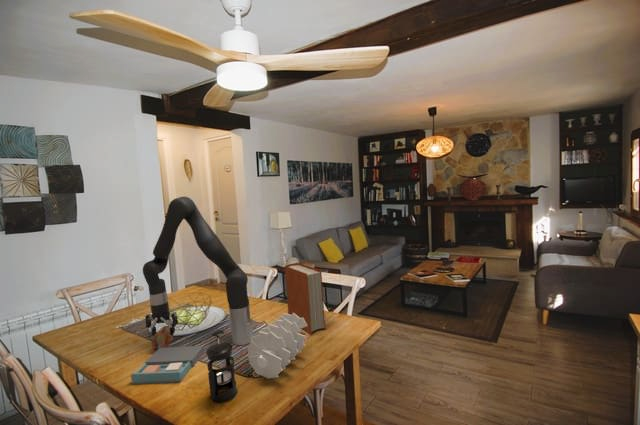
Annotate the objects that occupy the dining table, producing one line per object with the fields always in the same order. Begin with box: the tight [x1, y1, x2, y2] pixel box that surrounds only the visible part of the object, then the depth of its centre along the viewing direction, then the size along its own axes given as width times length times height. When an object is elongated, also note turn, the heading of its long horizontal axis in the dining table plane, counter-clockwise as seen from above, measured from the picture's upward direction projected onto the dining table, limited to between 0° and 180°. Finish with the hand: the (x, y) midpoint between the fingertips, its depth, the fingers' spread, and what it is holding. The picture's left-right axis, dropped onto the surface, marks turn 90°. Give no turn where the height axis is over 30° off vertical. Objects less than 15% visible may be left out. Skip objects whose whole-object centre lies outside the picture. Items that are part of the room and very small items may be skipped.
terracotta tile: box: [141, 365, 161, 373], centre depth 133 cm, size 5×5×2 cm
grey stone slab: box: [144, 345, 205, 368], centre depth 144 cm, size 20×12×3 cm, turn 88°
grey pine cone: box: [246, 312, 308, 380], centre depth 134 cm, size 18×18×25 cm
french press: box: [205, 330, 238, 404], centre depth 117 cm, size 12×9×23 cm
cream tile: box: [165, 362, 183, 372], centre depth 133 cm, size 5×5×2 cm
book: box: [284, 262, 326, 336], centre depth 169 cm, size 23×8×30 cm, turn 34°
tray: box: [130, 362, 193, 385], centre depth 133 cm, size 19×10×4 cm, turn 88°
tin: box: [151, 325, 174, 352], centre depth 157 cm, size 15×3×8 cm, turn 178°
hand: (163, 334), depth 157 cm, fingers open, 8 cm apart
